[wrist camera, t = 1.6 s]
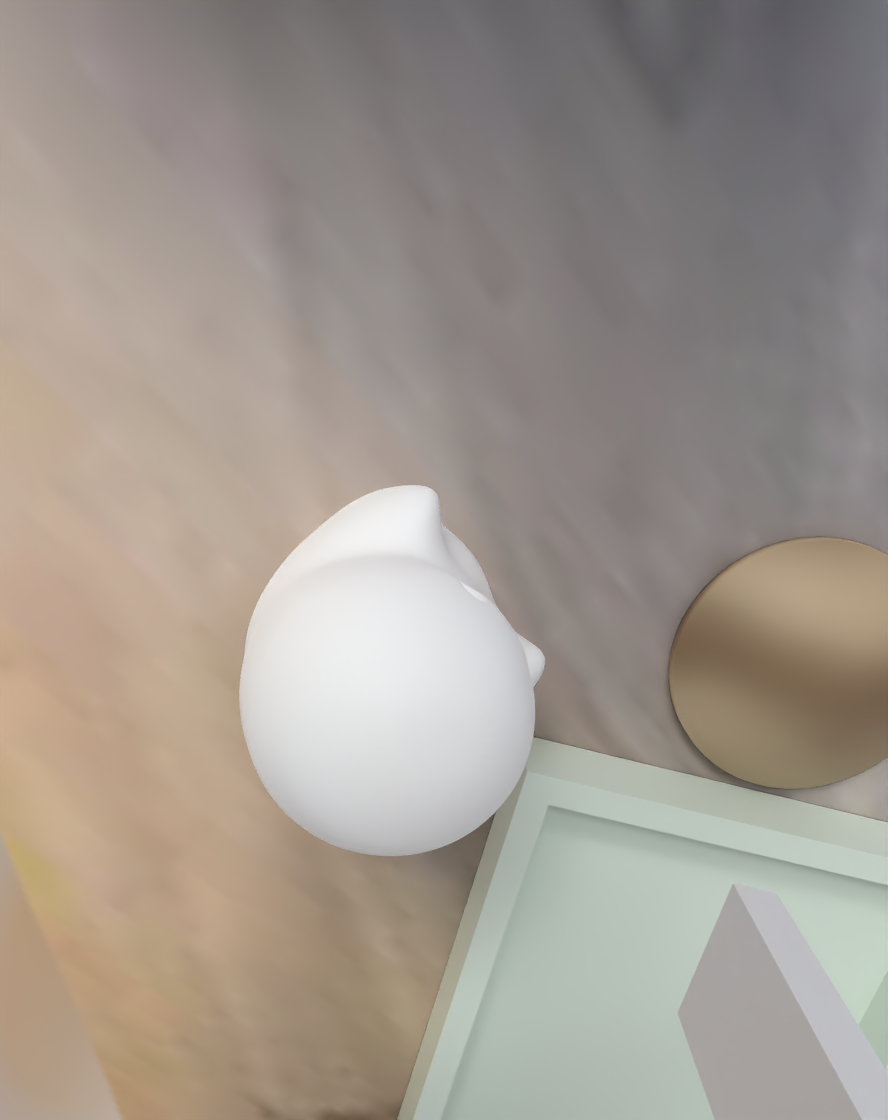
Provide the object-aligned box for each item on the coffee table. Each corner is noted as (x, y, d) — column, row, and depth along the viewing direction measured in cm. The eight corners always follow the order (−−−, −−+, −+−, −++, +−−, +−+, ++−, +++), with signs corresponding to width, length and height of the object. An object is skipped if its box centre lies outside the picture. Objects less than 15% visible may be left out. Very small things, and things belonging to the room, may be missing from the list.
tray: (520, 733, 25) (527, 771, 23) (967, 841, 26) (1017, 888, 24) (380, 1171, 31) (374, 1236, 29) (749, 1247, 32) (772, 1317, 30)
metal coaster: (679, 537, 23) (683, 541, 23) (959, 536, 23) (970, 539, 23) (659, 780, 26) (663, 788, 25) (912, 781, 25) (921, 789, 25)
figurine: (548, 617, 24) (633, 855, 12) (364, 727, 25) (286, 1036, 14) (431, 440, 23) (406, 523, 11) (242, 566, 24) (38, 760, 12)
